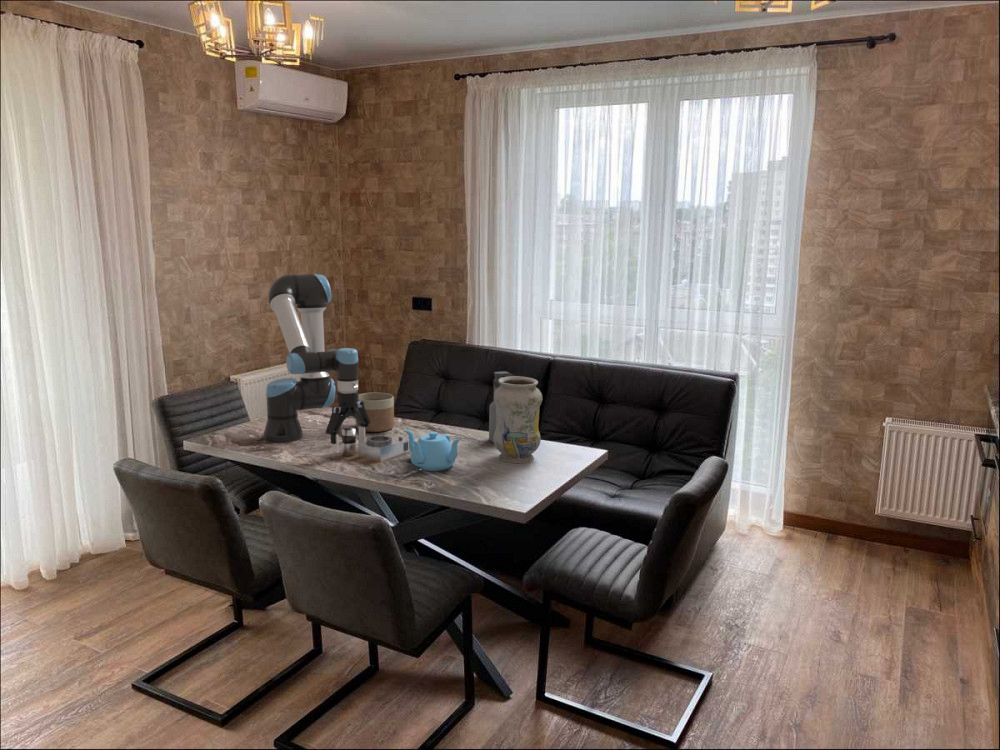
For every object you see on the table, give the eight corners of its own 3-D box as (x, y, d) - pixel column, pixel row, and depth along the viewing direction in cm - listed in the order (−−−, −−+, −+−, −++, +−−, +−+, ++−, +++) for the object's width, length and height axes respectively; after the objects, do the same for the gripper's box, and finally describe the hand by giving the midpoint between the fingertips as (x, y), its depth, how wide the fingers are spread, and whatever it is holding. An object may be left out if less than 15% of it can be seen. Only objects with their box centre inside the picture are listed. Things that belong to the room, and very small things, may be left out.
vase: (545, 465, 274) (547, 384, 268) (496, 466, 271) (498, 385, 265) (534, 450, 291) (537, 374, 285) (489, 452, 288) (490, 375, 282)
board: (335, 459, 276) (335, 456, 275) (373, 446, 292) (373, 443, 292) (374, 469, 265) (373, 465, 265) (410, 455, 282) (410, 452, 281)
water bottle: (507, 436, 311) (508, 369, 306) (518, 442, 302) (519, 373, 297) (485, 438, 307) (486, 371, 301) (495, 444, 298) (496, 375, 293)
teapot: (412, 475, 260) (412, 440, 258) (404, 459, 277) (404, 427, 275) (460, 471, 264) (461, 438, 262) (450, 456, 282) (450, 424, 280)
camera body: (357, 456, 275) (357, 439, 274) (385, 447, 288) (385, 430, 286) (380, 462, 269) (380, 444, 268) (408, 452, 282) (408, 435, 280)
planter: (390, 433, 311) (390, 401, 309) (352, 432, 311) (352, 400, 309) (396, 423, 327) (396, 392, 324) (360, 422, 327) (359, 391, 324)
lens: (339, 455, 276) (338, 428, 274) (349, 452, 280) (348, 425, 278) (349, 457, 273) (348, 430, 272) (359, 454, 278) (358, 427, 276)
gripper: (329, 398, 260) (331, 457, 264) (379, 387, 281) (379, 441, 285) (314, 395, 264) (316, 453, 268) (364, 384, 285) (365, 438, 289)
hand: (349, 447), depth 276 cm, fingers open, 13 cm apart
